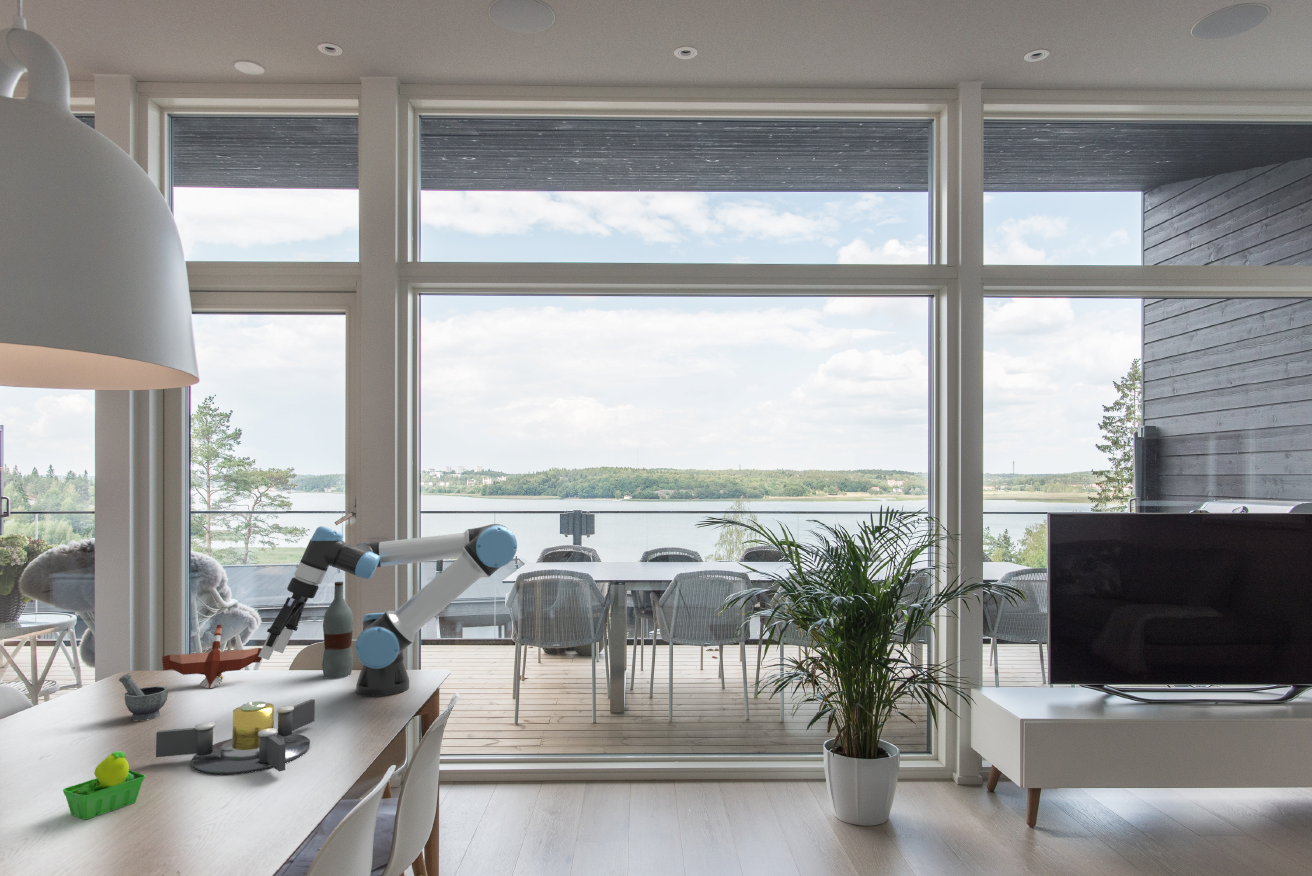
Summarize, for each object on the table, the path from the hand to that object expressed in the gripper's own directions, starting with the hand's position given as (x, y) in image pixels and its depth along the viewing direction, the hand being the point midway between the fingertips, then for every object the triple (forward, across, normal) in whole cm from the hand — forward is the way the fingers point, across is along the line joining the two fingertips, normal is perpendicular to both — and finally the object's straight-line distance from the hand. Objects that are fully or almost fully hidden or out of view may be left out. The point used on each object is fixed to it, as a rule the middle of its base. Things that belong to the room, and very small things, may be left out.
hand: (270, 654), depth 205 cm
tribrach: (+15, +30, +12) cm, 36 cm away
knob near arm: (+11, +18, +17) cm, 27 cm away
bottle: (+7, -39, +14) cm, 42 cm away
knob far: (+20, +31, -1) cm, 37 cm away
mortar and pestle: (+27, -6, -24) cm, 36 cm away
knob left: (+12, +42, +19) cm, 48 cm away
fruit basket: (+25, +55, -5) cm, 61 cm away
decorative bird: (+22, -38, -19) cm, 48 cm away
